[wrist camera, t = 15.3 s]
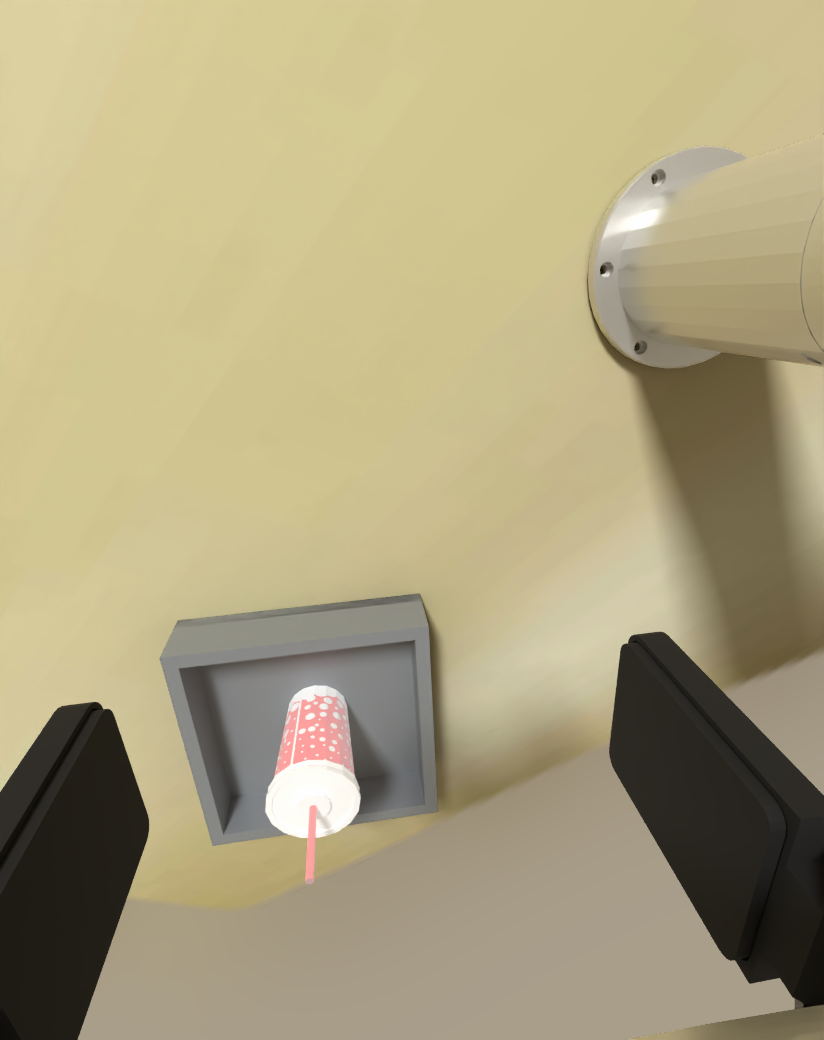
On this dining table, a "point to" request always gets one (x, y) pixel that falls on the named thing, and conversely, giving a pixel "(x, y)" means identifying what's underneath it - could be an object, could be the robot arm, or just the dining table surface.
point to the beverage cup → (314, 770)
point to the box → (283, 673)
